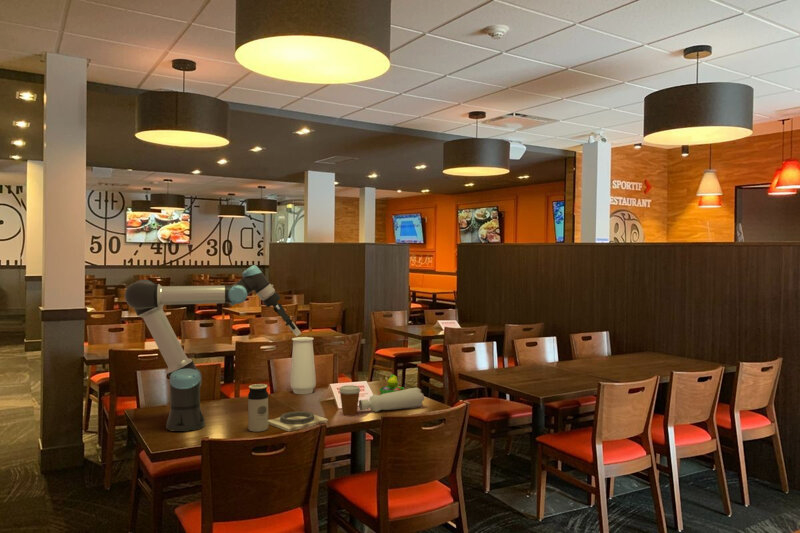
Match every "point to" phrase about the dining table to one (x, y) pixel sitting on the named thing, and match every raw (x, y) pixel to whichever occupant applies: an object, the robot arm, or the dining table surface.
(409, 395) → the bottle
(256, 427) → the travel mug
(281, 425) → the collar board
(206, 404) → the dining table surface
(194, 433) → the dining table surface
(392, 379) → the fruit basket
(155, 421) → the dining table surface
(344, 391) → the disposable coffee cup
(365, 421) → the dining table surface
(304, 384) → the vase
